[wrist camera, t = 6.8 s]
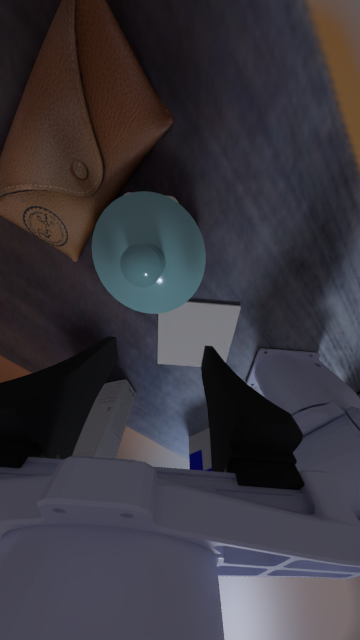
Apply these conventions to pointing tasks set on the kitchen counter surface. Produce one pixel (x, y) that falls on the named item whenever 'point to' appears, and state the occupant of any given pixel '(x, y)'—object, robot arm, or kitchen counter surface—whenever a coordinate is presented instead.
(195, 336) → the plate
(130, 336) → the kitchen counter surface
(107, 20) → the sunglasses case
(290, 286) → the kitchen counter surface
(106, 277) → the lid
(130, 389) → the skincare box
